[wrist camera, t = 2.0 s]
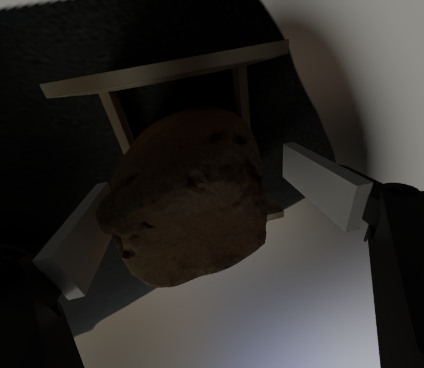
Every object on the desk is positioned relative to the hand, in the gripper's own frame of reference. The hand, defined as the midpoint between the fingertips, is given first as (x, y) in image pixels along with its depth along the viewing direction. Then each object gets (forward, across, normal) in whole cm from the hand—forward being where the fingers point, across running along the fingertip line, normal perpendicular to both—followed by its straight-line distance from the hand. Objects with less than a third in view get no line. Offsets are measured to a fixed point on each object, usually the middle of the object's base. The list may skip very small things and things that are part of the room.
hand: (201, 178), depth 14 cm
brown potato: (+14, 0, 0) cm, 14 cm away
